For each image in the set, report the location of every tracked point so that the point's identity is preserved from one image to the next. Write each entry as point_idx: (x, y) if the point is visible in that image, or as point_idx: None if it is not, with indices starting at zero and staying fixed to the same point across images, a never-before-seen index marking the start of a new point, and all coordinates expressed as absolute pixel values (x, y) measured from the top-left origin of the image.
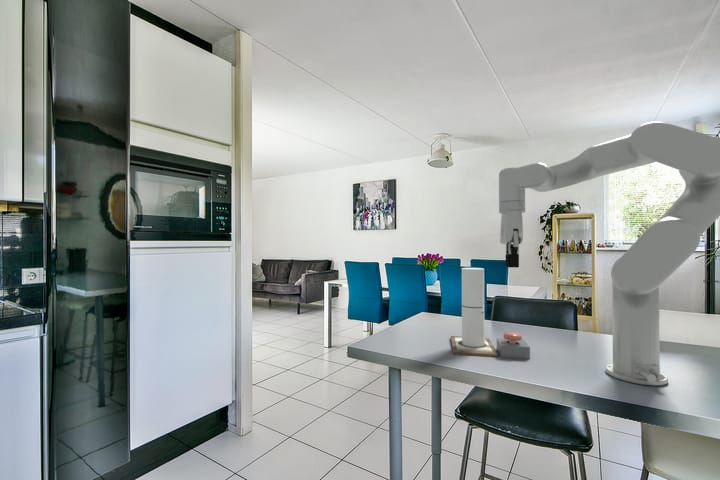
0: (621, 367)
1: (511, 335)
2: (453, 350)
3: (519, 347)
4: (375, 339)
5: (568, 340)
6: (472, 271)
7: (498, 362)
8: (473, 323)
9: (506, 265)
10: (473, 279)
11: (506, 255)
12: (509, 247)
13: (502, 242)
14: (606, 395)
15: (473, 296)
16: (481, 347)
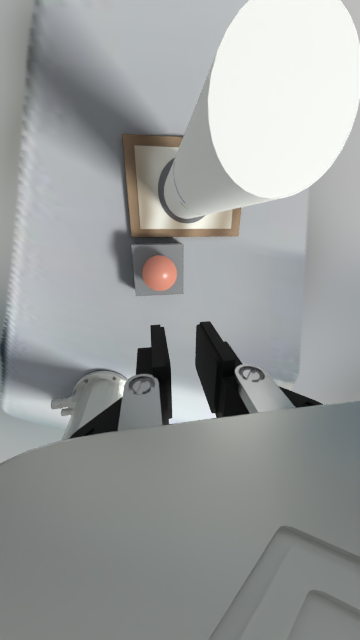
0: (87, 388)
1: (150, 270)
2: (128, 134)
3: (134, 278)
4: None
5: (246, 363)
6: (205, 94)
7: (99, 232)
8: (168, 180)
9: (200, 325)
10: (193, 128)
11: (215, 357)
12: (118, 426)
13: (236, 421)
14: (17, 349)
15: (178, 157)
16: (164, 208)
